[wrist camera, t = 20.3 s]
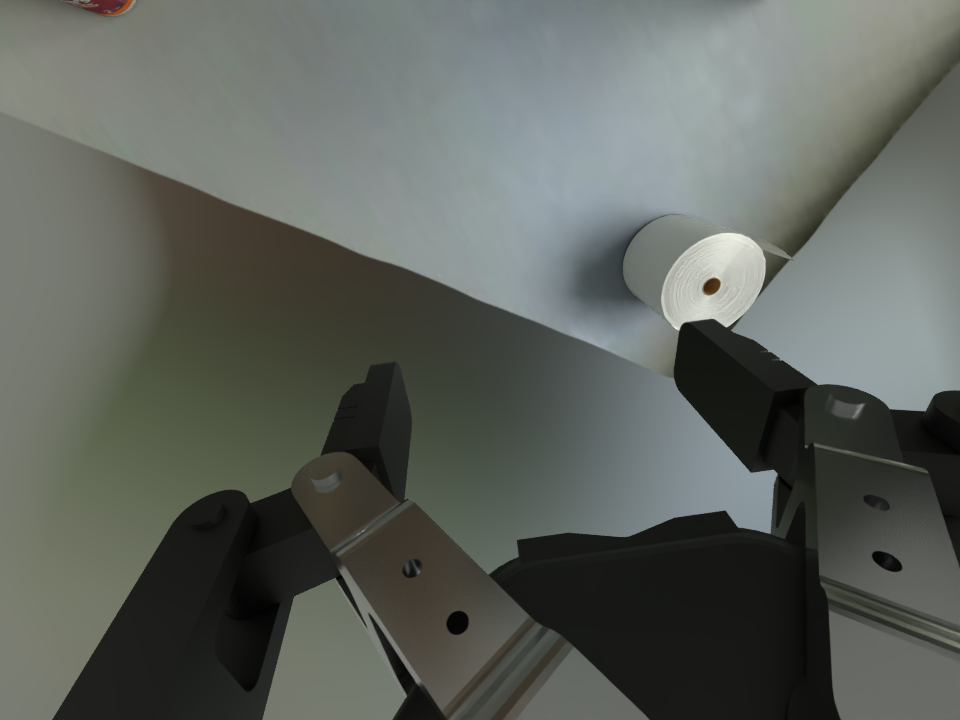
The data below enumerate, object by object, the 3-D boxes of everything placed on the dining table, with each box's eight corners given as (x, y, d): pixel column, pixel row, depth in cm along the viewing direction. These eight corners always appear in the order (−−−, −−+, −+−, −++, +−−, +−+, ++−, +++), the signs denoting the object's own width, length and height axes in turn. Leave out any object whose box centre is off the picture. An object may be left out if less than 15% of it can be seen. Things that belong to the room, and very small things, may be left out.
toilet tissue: (603, 269, 50) (639, 298, 41) (679, 183, 46) (737, 195, 37) (659, 316, 54) (703, 352, 45) (734, 241, 50) (798, 264, 41)
